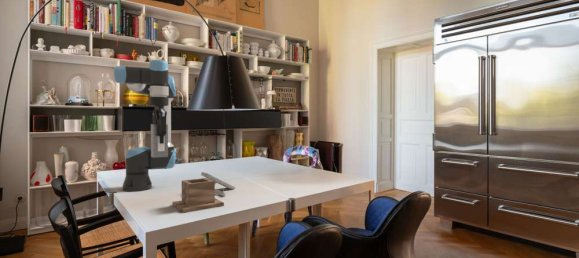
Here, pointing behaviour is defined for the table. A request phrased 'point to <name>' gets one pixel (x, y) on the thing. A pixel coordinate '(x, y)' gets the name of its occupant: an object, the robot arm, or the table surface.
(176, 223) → the table surface
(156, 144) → the steel bracket
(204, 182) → the brown wooden stand
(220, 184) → the door handle
